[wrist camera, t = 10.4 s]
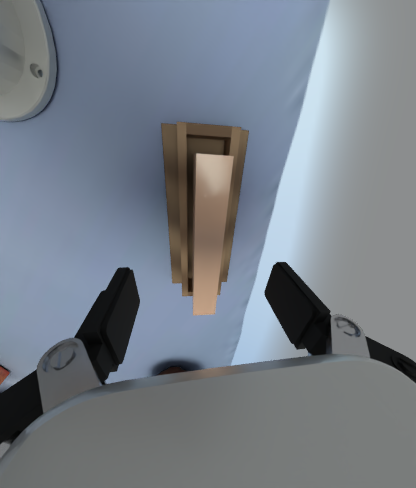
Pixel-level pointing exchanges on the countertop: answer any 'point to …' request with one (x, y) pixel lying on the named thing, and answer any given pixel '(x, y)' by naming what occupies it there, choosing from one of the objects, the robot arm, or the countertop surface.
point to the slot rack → (181, 189)
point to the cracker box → (3, 374)
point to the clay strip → (208, 226)
